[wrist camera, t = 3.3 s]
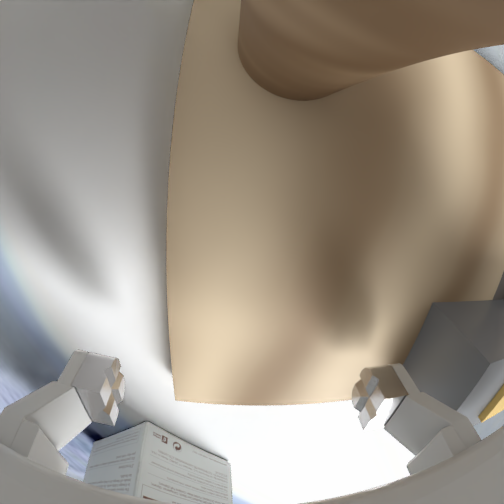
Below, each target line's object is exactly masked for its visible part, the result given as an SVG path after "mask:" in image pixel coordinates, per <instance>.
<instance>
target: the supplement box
mask: <svg viewBox="0 0 504 504" xmlns="http://www.w3.org/2000/svg"><path fill="white" fill-rule="evenodd" d="M83 482H85V483H88V484H91V485H94V486H97V487H101V488H104V489H108V490H111V491H115V492H118V493H122V494H126V495H131V496H135V497H140V498H145V499H150V500H155V501H161V502H168V503H175V504H233V502H232V483H231V465H230V463H229V462H228V461H226V460H224V459H221V458H219V457H217V456H215V455H213V454H210V453H208V452H206V451H204V450H202V449H200V448H198V447H196V446H194V445H192V444H190V443H188V442H186V441H184V440H182V439H180V438H178V437H176V436H174V435H172V434H170V433H169V432H167V431H165V430H163V429H161V428H160V427H158V426H156V425H154V424H152V423H150V422H148V421H147V422H144V423H141V424H139V425H137V426H135V427H132V428H130V429H127V430H125V431H122V432H120V433H117V434H115V435H112V436H110V437H107V438H104V439H101V440H99V441H95V442H94V443H93V447H92V450H91V454H90V457H89V461H88V464H87V468H86V472H85V476H84V480H83Z"/></svg>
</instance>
